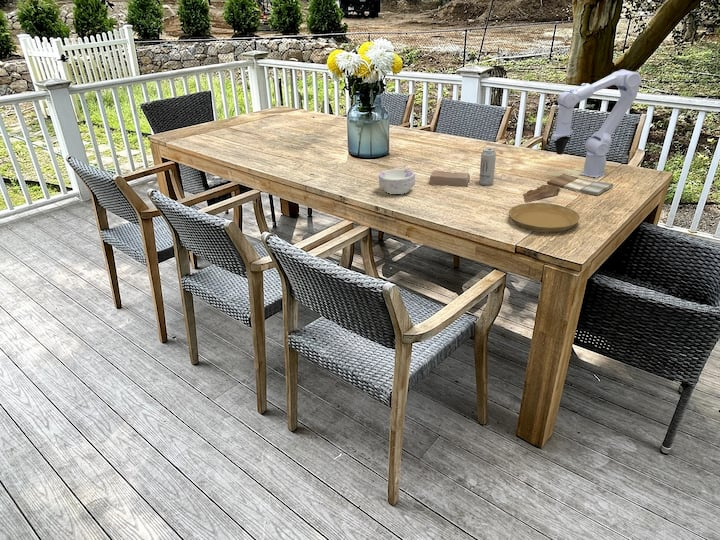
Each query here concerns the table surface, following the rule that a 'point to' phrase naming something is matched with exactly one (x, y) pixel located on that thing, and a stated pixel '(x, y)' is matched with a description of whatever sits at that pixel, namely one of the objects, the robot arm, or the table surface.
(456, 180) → the brick
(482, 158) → the energy drink can
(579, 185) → the ash board
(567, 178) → the walnut plank
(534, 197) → the fossil skeleton slab
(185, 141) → the table surface
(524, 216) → the plant saucer
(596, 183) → the grey oak plank
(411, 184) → the paper bowls
